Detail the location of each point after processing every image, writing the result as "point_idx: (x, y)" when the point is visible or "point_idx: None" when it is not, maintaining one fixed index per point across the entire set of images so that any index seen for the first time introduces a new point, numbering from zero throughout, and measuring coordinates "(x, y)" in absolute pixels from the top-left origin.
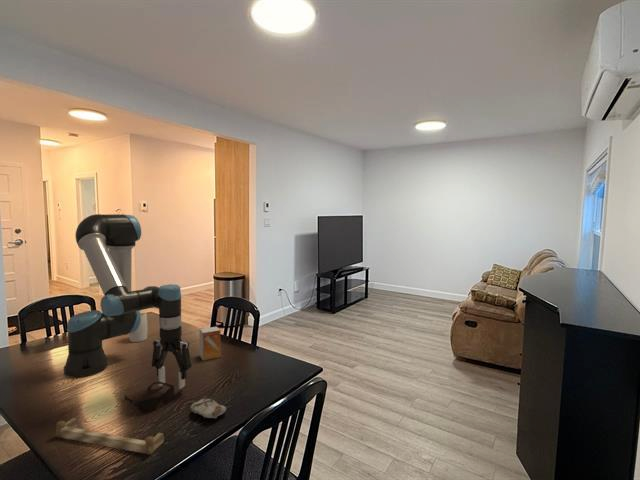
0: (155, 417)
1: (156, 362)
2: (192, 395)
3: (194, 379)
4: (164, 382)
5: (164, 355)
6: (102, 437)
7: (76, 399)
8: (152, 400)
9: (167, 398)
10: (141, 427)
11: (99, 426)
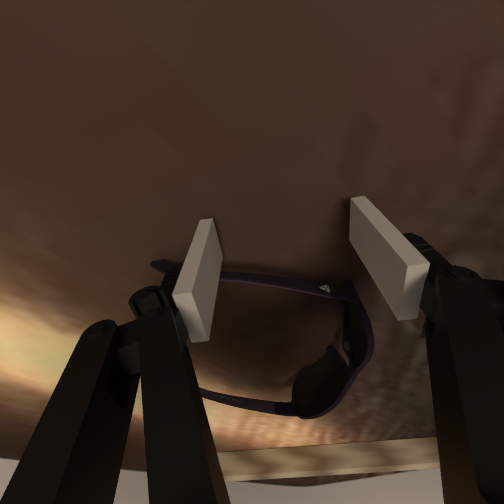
0: (364, 372)
1: (117, 361)
2: (438, 225)
3: (341, 26)
4: (213, 226)
5: (219, 476)
6: (319, 474)
7: (10, 388)
8: (337, 393)
9: (360, 331)
10: (355, 405)
11: (239, 427)
